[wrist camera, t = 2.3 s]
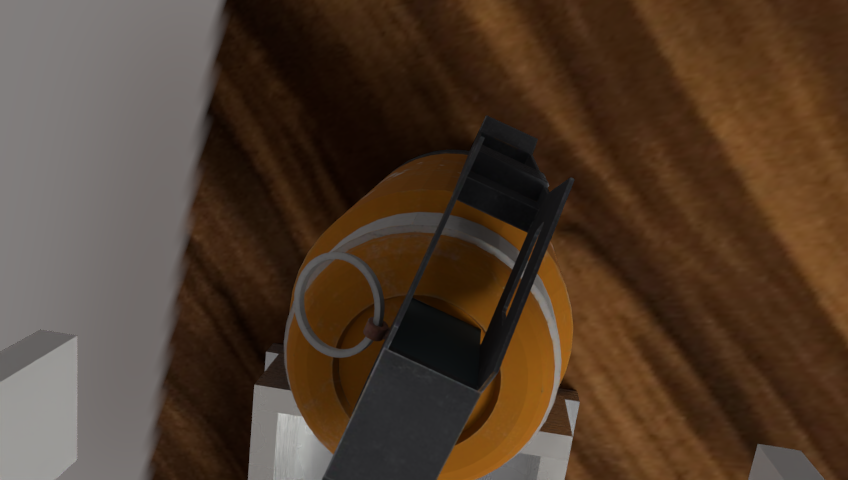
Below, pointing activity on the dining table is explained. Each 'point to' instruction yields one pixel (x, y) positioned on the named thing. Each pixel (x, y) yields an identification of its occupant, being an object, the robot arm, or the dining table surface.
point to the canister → (434, 316)
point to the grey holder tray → (308, 458)
